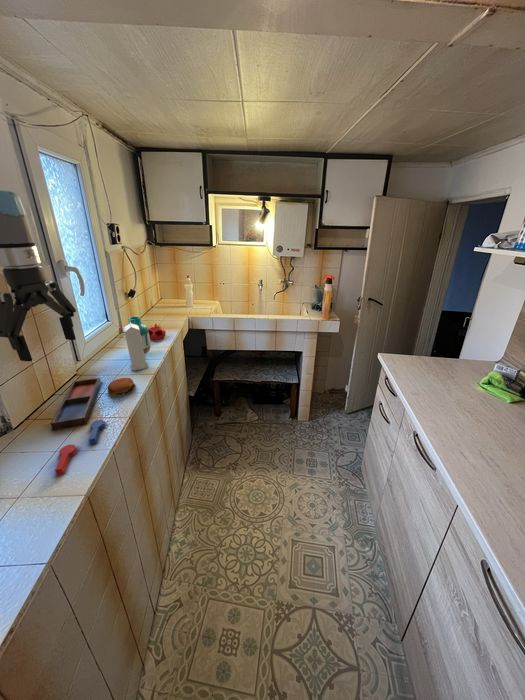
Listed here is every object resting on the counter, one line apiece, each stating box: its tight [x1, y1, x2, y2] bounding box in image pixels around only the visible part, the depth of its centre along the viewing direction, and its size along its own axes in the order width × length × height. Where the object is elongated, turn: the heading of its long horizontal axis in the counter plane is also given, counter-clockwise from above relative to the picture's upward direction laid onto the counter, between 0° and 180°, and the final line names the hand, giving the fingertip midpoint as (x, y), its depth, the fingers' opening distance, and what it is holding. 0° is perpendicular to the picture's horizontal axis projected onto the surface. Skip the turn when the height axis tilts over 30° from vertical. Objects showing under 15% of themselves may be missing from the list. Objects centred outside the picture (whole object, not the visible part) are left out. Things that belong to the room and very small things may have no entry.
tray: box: [50, 376, 102, 431], centre depth 104 cm, size 10×28×3 cm, turn 18°
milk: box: [123, 323, 148, 372], centre depth 126 cm, size 6×6×22 cm
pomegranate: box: [148, 323, 167, 342], centre depth 159 cm, size 10×10×9 cm
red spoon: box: [54, 444, 78, 476], centre depth 79 cm, size 4×10×2 cm, turn 18°
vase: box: [127, 315, 151, 355], centre depth 139 cm, size 11×11×19 cm
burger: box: [107, 377, 137, 398], centre depth 110 cm, size 10×9×5 cm
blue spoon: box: [88, 419, 106, 445], centre depth 89 cm, size 4×10×2 cm, turn 18°
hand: (50, 349), depth 74 cm, fingers open, 13 cm apart
